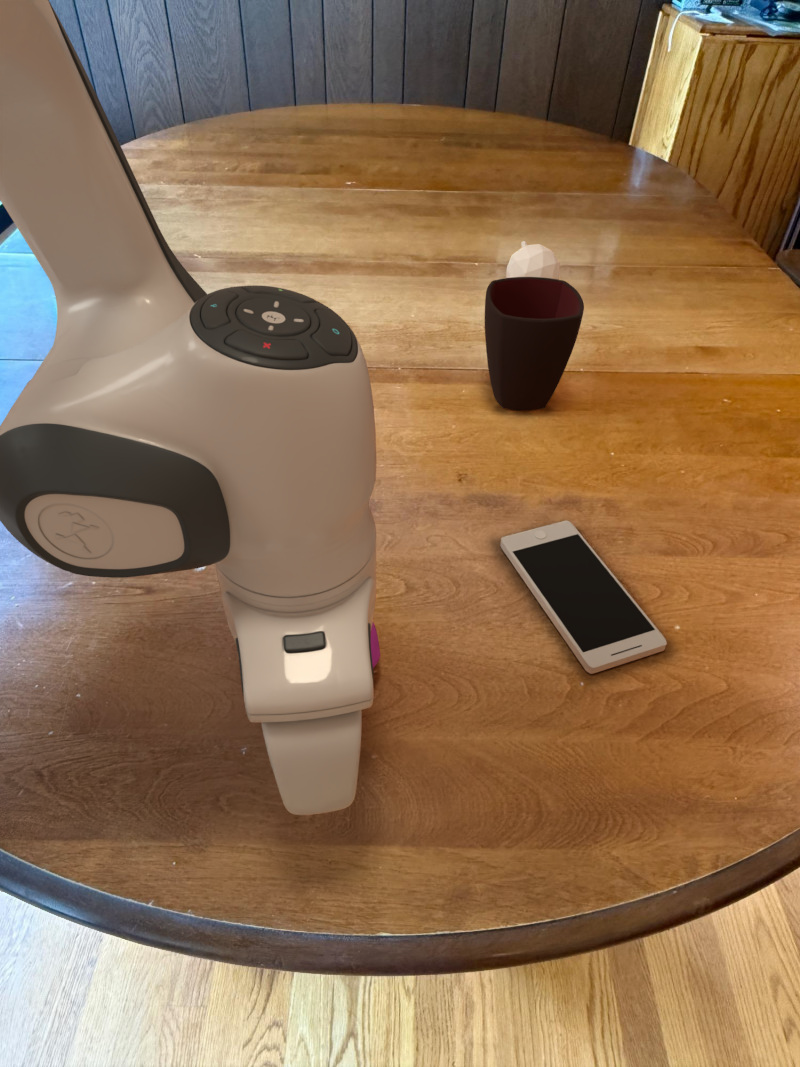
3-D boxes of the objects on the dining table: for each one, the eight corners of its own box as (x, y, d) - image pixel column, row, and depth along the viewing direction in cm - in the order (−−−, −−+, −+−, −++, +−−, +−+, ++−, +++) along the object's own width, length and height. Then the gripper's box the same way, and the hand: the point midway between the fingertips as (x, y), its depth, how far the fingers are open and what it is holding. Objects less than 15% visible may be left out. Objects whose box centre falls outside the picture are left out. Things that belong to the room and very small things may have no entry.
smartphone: (567, 526, 72) (569, 518, 71) (666, 650, 61) (669, 642, 60) (498, 544, 70) (499, 536, 69) (588, 675, 59) (590, 668, 58)
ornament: (509, 310, 103) (490, 250, 101) (523, 307, 109) (506, 251, 108) (559, 291, 99) (541, 229, 98) (571, 289, 106) (554, 231, 104)
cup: (481, 422, 84) (492, 320, 76) (468, 356, 94) (476, 260, 86) (572, 421, 84) (593, 320, 76) (549, 356, 94) (565, 260, 86)
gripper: (239, 467, 51) (261, 607, 60) (244, 735, 36) (272, 866, 45) (335, 459, 52) (341, 599, 61) (378, 718, 37) (378, 850, 46)
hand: (312, 715), depth 53 cm, fingers closed
